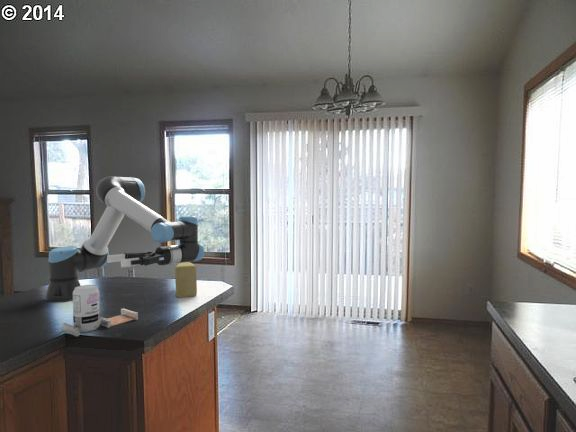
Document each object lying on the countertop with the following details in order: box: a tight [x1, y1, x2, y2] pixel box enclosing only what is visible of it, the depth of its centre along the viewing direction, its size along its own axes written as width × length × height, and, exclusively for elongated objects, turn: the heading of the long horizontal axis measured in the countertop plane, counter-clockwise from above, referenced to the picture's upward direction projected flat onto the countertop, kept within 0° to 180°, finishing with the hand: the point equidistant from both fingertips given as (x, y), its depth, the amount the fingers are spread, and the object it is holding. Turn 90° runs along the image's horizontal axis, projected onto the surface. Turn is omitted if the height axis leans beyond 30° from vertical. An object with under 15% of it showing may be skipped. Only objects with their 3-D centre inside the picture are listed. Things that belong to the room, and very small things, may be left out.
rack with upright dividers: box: [61, 307, 139, 337], centre depth 144 cm, size 10×23×2 cm, turn 144°
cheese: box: [174, 262, 198, 298], centre depth 193 cm, size 22×10×15 cm, turn 19°
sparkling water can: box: [72, 284, 101, 333], centre depth 139 cm, size 8×8×15 cm
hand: (113, 261), depth 145 cm, fingers open, 13 cm apart
